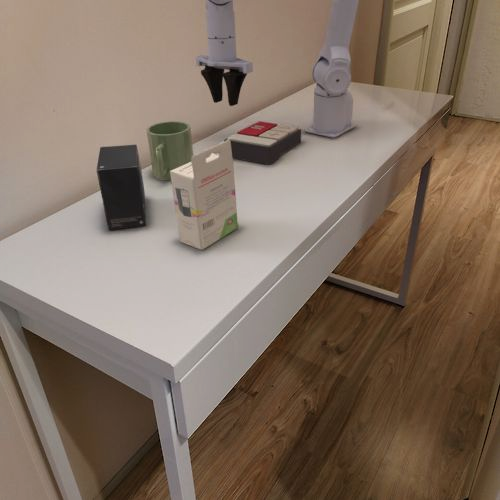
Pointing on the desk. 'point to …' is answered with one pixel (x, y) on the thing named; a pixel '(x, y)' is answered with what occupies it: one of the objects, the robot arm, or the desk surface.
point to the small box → (121, 186)
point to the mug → (169, 147)
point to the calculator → (264, 142)
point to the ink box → (205, 196)
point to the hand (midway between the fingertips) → (225, 103)
